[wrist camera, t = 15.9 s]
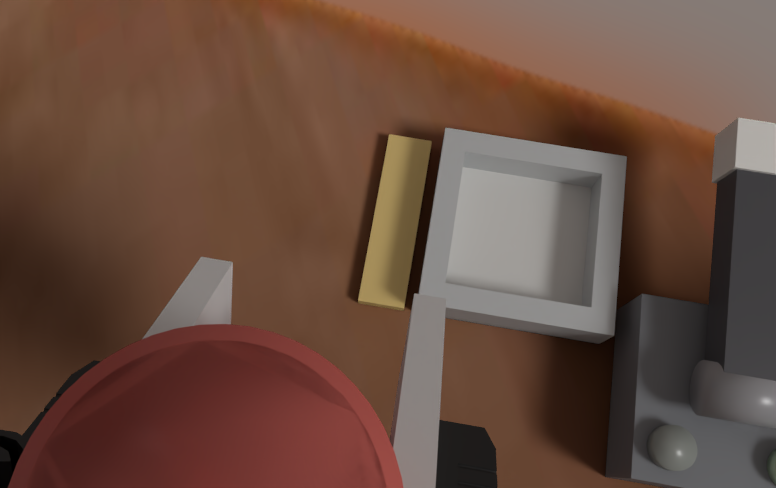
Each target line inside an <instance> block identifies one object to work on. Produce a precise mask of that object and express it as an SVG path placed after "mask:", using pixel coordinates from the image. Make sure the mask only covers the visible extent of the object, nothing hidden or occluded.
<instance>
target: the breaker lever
mask: <svg viewBox="0 0 776 488" xmlns="http://www.w3.org/2000/svg"><path fill="white" fill-rule="evenodd" d="M712 183H717V194H716V208H715V222H714V236H713V250H712V264H711V278H710V292H709V306H708V320H707V334H706V348H705V360H701V361H700V362H699V363H698V364H697V365H696V366H695V368H694V371H693V373H692V376H691V381H690V388H689V397H690V404H691V407H692V410H693V412H694V413H695V414H696V415H698V416H704V417H710V418H715V419H721V420H727V421H733V422H739V423H744V424H750V425H756V426H762V427H767V428H773V429H776V123H770V122H763V121H757V120H751V119H744V118H737V119H736V120H735V121H734V122H732V123H731V124H730V125H728V127H726V128H725V129H724V130H722V131H721V132H720V133H718V134H717V135H716V136H715V146H714V160H713V174H712Z"/></svg>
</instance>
